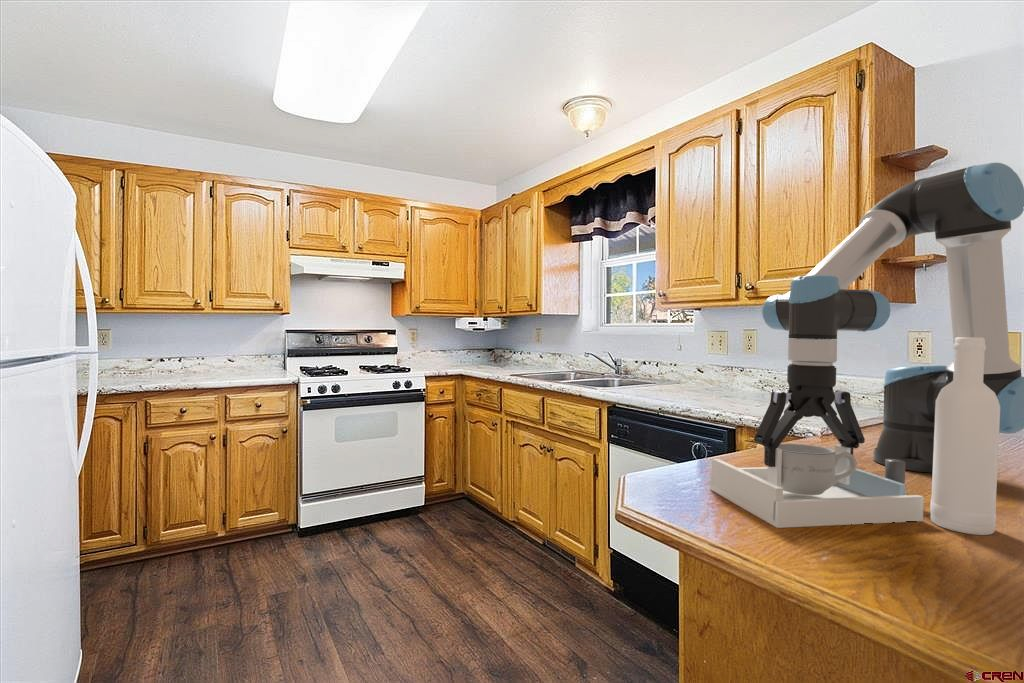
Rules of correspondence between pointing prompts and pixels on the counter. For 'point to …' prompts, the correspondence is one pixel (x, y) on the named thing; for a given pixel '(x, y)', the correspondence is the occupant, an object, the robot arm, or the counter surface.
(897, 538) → the counter surface
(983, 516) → the bottle
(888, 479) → the blue-grey panel and knob
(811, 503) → the tray
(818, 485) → the teacup
